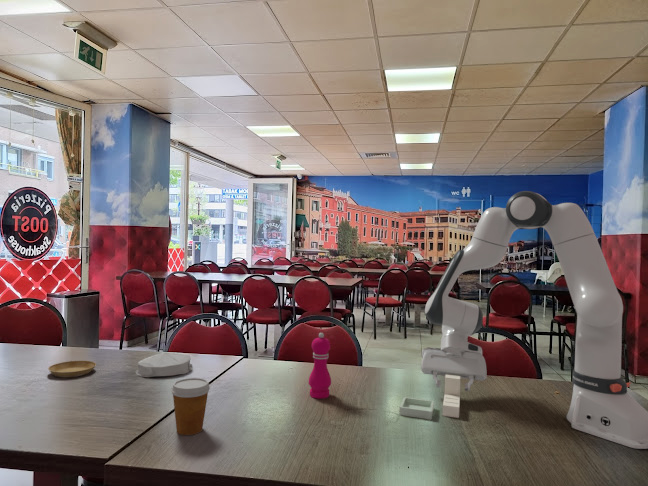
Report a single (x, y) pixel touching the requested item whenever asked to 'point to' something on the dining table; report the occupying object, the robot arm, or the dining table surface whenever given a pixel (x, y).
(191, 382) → the disposable coffee cup
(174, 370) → the food container
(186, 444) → the dining table surface
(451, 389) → the stub
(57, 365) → the plant saucer
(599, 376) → the robot arm
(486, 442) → the dining table surface
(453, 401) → the white grooved block
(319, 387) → the pepper mill
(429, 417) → the stub tray
